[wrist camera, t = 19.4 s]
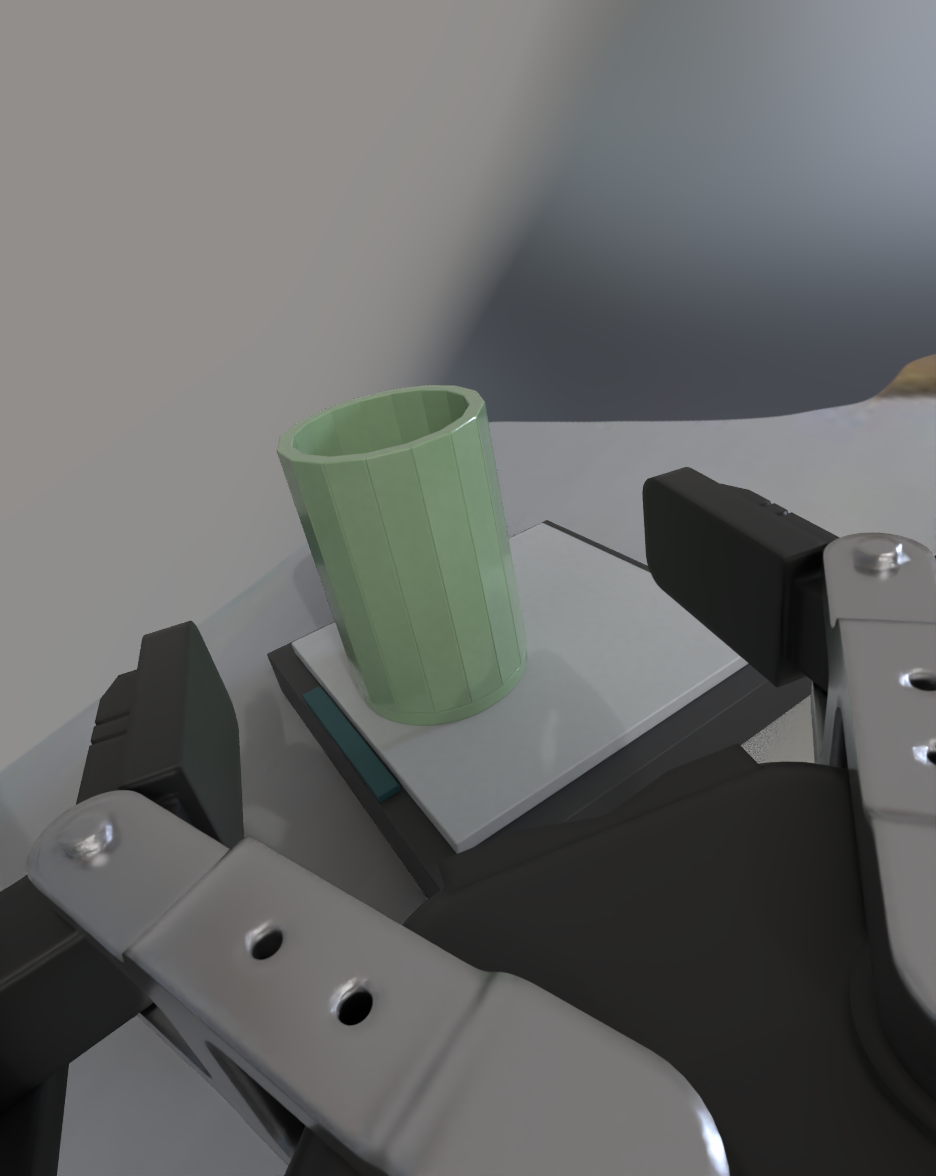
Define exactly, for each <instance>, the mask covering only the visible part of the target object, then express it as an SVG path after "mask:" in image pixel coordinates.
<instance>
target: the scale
mask: <svg viewBox="0 0 936 1176" xmlns="http://www.w3.org/2000/svg"><path fill="white" fill-rule="evenodd" d="M509 543H510V549H511V554H512V560H513V566H514V572H515V577H516V583H517V589H518V594H519V600H520V606H521V611H522V617H523V623H524V629H525V634H526V640H527V644H526V648H527V656H528V658H527V665H526V668H525V671H524V674H523V676H522V677H521V679H520V681H519V682H518V684H517V685H516V686H515V688H514V689H513V690H512V691H511V692H510V693H509V694H508V695H507V696H505V697H504V698H503V699H502V700H500V701H499V702H498V703H496V704H495V705H493V706H491V707H490V708H488V709H486V710H484V711H482V712H480V713H478V714H476V715H473V716H471V717H468V718H465V719H462V720H459V721H455V722H450V723H446V724H438V725H424V726H419V725H407V724H402V723H397V722H394V721H390V720H388V719H386V718H384V717H381V716H380V715H378V714H377V713H375V712H374V711H373V710H372V709H371V708H370V707H369V706H368V705H367V704H366V702H365V701H364V699H363V697H362V695H361V692H360V689H359V688H358V687H357V684H356V682H355V679H354V676H353V673H352V670H351V667H350V664H349V661H348V658H347V655H346V652H345V649H344V647H343V644H342V641H341V638H340V635H339V632H338V629H337V626H336V623H335V622H333V623H331V624H329V625H327V626H325V627H323V628H320V629H318V630H316V631H314V632H312V633H310V634H308V635H306V636H304V637H302V638H300V639H297V640H295V641H293V642H291V643H289V644H287V645H285V646H283V647H281V648H279V649H277V650H274V651H272V652H270V653H268V654H267V656H268V658H269V661H270V663H271V665H272V668H273V670H274V673H275V675H276V678H277V680H278V682H279V685H280V687H281V690H282V692H283V693H284V694H285V696H286V697H287V699H288V700H289V702H290V703H291V704H292V706H293V707H294V709H295V710H296V711H297V713H298V714H299V716H300V717H301V719H302V720H303V721H304V723H305V724H306V726H307V727H308V728H309V730H310V731H311V733H312V734H313V736H314V737H315V738H316V740H317V741H318V743H319V744H320V745H321V747H322V748H323V750H324V751H325V753H326V754H327V755H328V757H329V758H330V760H331V761H332V762H333V764H334V765H335V767H336V768H337V770H338V771H339V772H340V774H341V775H342V777H343V778H344V779H345V781H346V782H347V784H348V785H349V787H350V788H351V789H352V791H353V792H354V794H355V795H356V796H357V798H358V799H359V801H360V802H361V804H362V805H363V806H364V808H365V809H366V811H367V812H368V813H369V815H370V816H371V818H372V819H373V821H374V822H375V823H376V825H377V826H378V828H379V829H380V830H381V832H382V833H383V835H384V836H385V838H386V839H387V840H388V842H389V843H390V845H391V846H392V847H393V849H394V850H395V852H396V853H397V855H398V856H399V857H400V859H401V860H402V862H403V863H404V864H405V866H406V867H407V869H408V870H409V872H410V873H411V874H412V876H413V877H414V879H415V880H416V881H417V883H418V884H419V886H420V887H421V889H422V890H423V891H424V893H425V894H426V896H427V897H428V899H429V898H431V897H432V896H433V895H435V894H436V893H438V892H439V891H440V890H442V889H443V888H445V887H444V884H443V880H442V877H441V874H440V871H439V868H438V864H437V861H440V860H442V859H445V858H447V857H450V856H453V855H455V854H458V853H460V852H463V851H465V850H468V849H470V848H473V847H475V846H478V845H480V844H483V843H486V842H488V841H491V840H493V839H496V838H498V837H501V836H503V835H506V834H508V833H511V832H514V831H517V830H523V829H530V828H536V827H542V826H548V825H554V824H560V823H566V822H572V821H579V820H585V819H591V818H596V817H600V816H603V815H605V814H607V813H609V812H611V811H612V810H613V809H615V808H616V807H618V806H619V805H620V804H622V803H623V802H625V801H626V800H628V799H629V798H630V797H632V796H633V795H635V794H636V793H637V792H639V791H640V790H642V789H643V788H644V787H646V786H647V785H649V784H650V783H651V782H653V781H654V780H656V779H657V778H659V777H660V776H661V775H663V774H664V773H666V772H667V771H668V770H671V769H674V768H676V767H679V766H681V765H684V764H686V763H689V762H691V761H694V760H696V759H699V758H701V757H704V756H707V755H709V754H712V753H714V752H717V751H719V750H722V749H724V748H727V747H729V746H732V745H735V744H737V743H738V744H739V745H742V744H743V743H744V742H746V741H747V740H748V739H750V738H751V737H753V736H754V735H755V734H757V733H758V732H759V731H761V730H762V729H763V728H765V727H766V726H768V725H769V724H770V723H772V722H773V721H774V720H776V719H777V718H779V717H780V716H781V715H783V714H784V713H785V712H787V711H788V710H790V709H791V708H792V707H794V706H795V705H796V704H798V703H799V702H801V701H802V700H803V699H805V698H806V697H807V696H809V695H810V694H811V688H812V680H811V679H810V678H808V677H804V678H801V679H799V680H796V681H794V682H791V683H788V684H786V685H783V686H781V687H778V688H777V687H776V686H774V685H773V684H772V683H771V682H770V681H769V680H767V679H766V678H765V677H764V676H763V675H762V674H760V673H759V672H758V671H757V670H756V669H754V668H753V667H752V666H751V665H750V664H749V663H747V662H746V661H745V660H744V659H743V658H742V657H740V656H739V655H738V654H737V653H736V652H735V651H733V650H732V649H731V648H730V647H729V646H727V645H726V644H725V643H724V642H723V641H722V640H720V639H719V638H718V637H717V636H716V635H715V634H713V633H712V632H711V631H710V630H709V629H708V628H706V627H705V626H704V625H703V624H702V623H700V622H699V621H698V620H697V619H696V618H695V617H693V616H692V615H691V614H690V613H689V612H688V611H686V610H685V609H684V608H683V607H682V606H681V605H679V604H678V603H677V602H676V601H675V600H673V599H672V598H671V597H670V596H669V595H668V594H666V593H665V592H664V591H663V590H662V589H661V588H660V587H659V586H658V585H657V584H656V582H655V581H654V579H653V577H652V575H651V573H650V570H649V567H648V566H647V565H644V564H642V563H640V562H638V561H636V560H634V559H631V558H629V557H627V556H625V555H623V554H620V553H618V552H616V551H614V550H612V549H609V548H607V547H605V546H603V545H601V544H598V543H596V542H594V541H592V540H590V539H587V538H585V537H583V536H581V535H579V534H576V533H574V532H572V531H570V530H568V529H565V528H563V527H561V526H559V525H557V524H555V523H552V522H550V521H548V520H546V521H544V522H542V523H540V524H538V525H536V526H534V527H531V528H529V529H527V530H525V531H523V532H521V533H519V534H517V535H515V536H513V537H511V538H509Z"/></svg>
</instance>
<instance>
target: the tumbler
mask: <svg viewBox="0 0 936 1176" xmlns="http://www.w3.org/2000/svg"><path fill="white" fill-rule="evenodd" d="M277 453H278V456H279V459H280V462H281V465H282V468H283V471H284V474H285V477H286V480H287V483H288V485H289V489H290V492H291V494H292V497H293V500H294V503H295V506H296V509H297V512H298V515H299V518H300V520H301V524H302V526H303V529H304V532H305V535H306V538H307V541H308V544H309V547H310V550H311V553H312V556H313V559H314V562H315V565H316V568H317V570H318V573H319V576H320V579H321V582H322V585H323V588H324V591H325V594H326V597H327V600H328V603H329V606H330V609H331V611H332V614H333V617H334V620H335V623H336V626H337V629H338V632H339V635H340V638H341V641H342V644H343V647H344V649H345V652H346V655H347V658H348V661H349V664H350V667H351V670H352V673H353V676H354V679H355V682H356V684H357V687H358V688H359V689H360V692H361V695H362V697H363V699H364V701H365V702H366V704H367V705H368V706H369V707H370V708H371V709H372V710H373V711H374V712H375V713H377V714H378V715H380V716H381V717H384V718H386V719H388V720H390V721H394V722H397V723H402V724H407V725H419V726H424V725H438V724H446V723H450V722H455V721H459V720H462V719H465V718H468V717H471V716H473V715H476V714H478V713H480V712H482V711H484V710H486V709H488V708H490V707H491V706H493V705H495V704H496V703H498V702H499V701H500V700H502V699H503V698H504V697H505V696H507V695H508V694H509V693H510V692H511V691H512V690H513V689H514V688H515V686H516V685H517V684H518V682H519V681H520V679H521V677H522V676H523V674H524V671H525V668H526V665H527V658H528V656H527V648H526V644H527V640H526V634H525V629H524V623H523V617H522V611H521V606H520V600H519V594H518V589H517V583H516V577H515V572H514V566H513V560H512V554H511V549H510V543H509V537H508V532H507V526H506V520H505V515H504V509H503V503H502V497H501V492H500V486H499V480H498V475H497V469H496V463H495V458H494V452H493V446H492V440H491V435H490V429H489V423H488V418H487V412H486V406H485V402H484V401H483V399H482V398H481V396H480V395H479V394H478V392H476V391H474V390H470V389H466V388H462V387H459V386H438V385H427V386H425V385H424V386H417V387H408V388H400V389H393V390H388V391H384V392H380V393H376V394H371V395H367V396H363V397H358V398H357V399H352V400H349V401H346V402H344V403H341V404H338V405H335V406H332V407H329V408H326V409H324V410H321V411H319V412H318V413H316V414H314V415H312V416H310V417H308V418H306V419H304V420H302V421H300V422H298V423H297V424H295V425H294V426H292V427H291V428H290V429H289V430H288V431H287V432H286V433H284V434H283V435H282V436H281V437H280V438H279V443H278V448H277Z"/></svg>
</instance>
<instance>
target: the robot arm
mask: <svg viewBox="0 0 936 1176" xmlns="http://www.w3.org/2000/svg"><path fill="white" fill-rule="evenodd" d="M643 511H644V528H645V545H646V558H647V564H648V567H649V570H650V573H651V575H652V577H653V579H654V581H655V582H656V584H657V585H658V586H659V587H660V588H661V589H662V590H663V591H664V592H665V593H666V594H668V595H669V596H670V597H671V598H672V599H673V600H675V601H676V602H677V603H678V604H679V605H681V606H682V607H683V608H684V609H685V610H686V611H688V612H689V613H690V614H691V615H692V616H693V617H695V618H696V619H697V620H698V621H699V622H700V623H702V624H703V625H704V626H705V627H706V628H708V629H709V630H710V631H711V632H712V633H713V634H715V635H716V636H717V637H718V638H719V639H720V640H722V641H723V642H724V643H725V644H726V645H727V646H729V647H730V648H731V649H732V650H733V651H735V652H736V653H737V654H738V655H739V656H740V657H742V658H743V659H744V660H745V661H746V662H747V663H749V664H750V665H751V666H752V667H753V668H754V669H756V670H757V671H758V672H759V673H760V674H762V675H763V676H764V677H765V678H766V679H767V680H769V681H770V682H771V683H772V684H773V685H774V686H776V687H777V688H778V687H781V686H783V685H786V684H788V683H791V682H794V681H796V680H799V679H801V678H804V677H808V678H810V679H811V680H812V688H811V713H812V728H813V743H814V757H815V763H807V762H770V763H761V764H758V763H757V762H756V761H755V760H754V759H753V758H752V757H751V756H750V755H749V754H748V753H747V752H746V751H745V750H744V749H743V748H742V747H741V746H740V745H739V744H738V743H737V744H735V745H732V746H729V747H727V748H724V749H722V750H719V751H717V752H714V753H712V754H709V755H707V756H704V757H701V758H699V759H696V760H694V761H691V762H689V763H686V764H684V765H681V766H679V767H676V768H674V769H671V770H668V771H667V772H666V773H664V774H663V775H661V776H660V777H659V778H657V779H656V780H654V781H653V782H651V783H650V784H649V785H647V786H646V787H644V788H643V789H642V790H640V791H639V792H637V793H636V794H635V795H633V796H632V797H630V798H629V799H628V800H626V801H625V802H623V803H622V804H620V805H619V806H618V807H616V808H615V809H613V810H612V811H611V812H609V813H607V814H605V815H603V816H600V817H596V818H591V819H585V820H579V821H572V822H566V823H560V824H554V825H548V826H542V827H536V828H530V829H523V830H517V831H514V832H511V833H508V834H506V835H503V836H501V837H498V838H496V839H493V840H491V841H488V842H486V843H483V844H480V845H478V846H475V847H473V848H470V849H468V850H465V851H463V852H460V853H458V854H455V855H453V856H450V857H447V858H445V859H442V860H440V861H437V864H438V868H439V871H440V874H441V877H442V880H443V884H444V887H445V888H443V889H442V890H440V891H439V892H438V893H436V894H435V895H433V896H432V897H431V898H429V899H428V900H427V901H426V902H425V903H424V904H423V905H421V906H420V907H419V908H418V909H417V910H416V911H415V912H414V913H413V914H412V915H411V916H410V917H409V918H408V919H407V920H406V921H405V922H404V924H403V925H400V924H399V923H397V922H395V921H394V920H392V919H390V918H388V917H387V916H385V915H383V914H382V913H380V912H378V911H377V910H375V909H373V908H371V907H370V906H368V905H366V904H365V903H363V902H361V901H359V900H358V899H356V898H354V897H353V896H351V895H349V894H348V893H346V892H344V891H342V890H341V889H339V888H337V887H336V886H334V885H332V884H330V883H329V882H327V881H325V880H324V879H322V878H320V877H318V876H317V875H315V874H313V873H312V872H310V871H308V870H307V869H305V868H303V867H301V866H300V865H298V864H296V863H295V862H293V861H291V860H289V859H288V858H286V857H284V856H283V855H281V854H279V853H278V852H276V851H274V850H272V849H271V848H269V847H267V846H266V845H264V844H262V843H260V842H259V841H257V840H255V839H252V838H249V837H244V830H243V809H242V788H241V767H240V746H239V729H238V723H237V719H236V715H235V711H234V708H233V705H232V702H231V699H230V697H229V694H228V692H227V690H226V688H225V686H224V684H223V681H222V679H221V677H220V675H219V673H218V671H217V668H216V666H215V664H214V662H213V660H212V658H211V655H210V653H209V651H208V649H207V647H206V645H205V643H204V640H203V638H202V636H201V634H200V632H199V630H198V628H197V627H196V625H195V624H194V623H193V622H192V621H188V622H185V623H181V624H178V625H175V626H172V627H169V628H165V629H162V630H159V631H156V632H153V633H150V634H146V635H144V636H143V638H142V644H141V649H140V656H139V662H138V668H137V670H134V671H131V672H127V673H125V674H121V675H118V677H117V678H116V679H115V681H114V682H113V684H112V685H111V686H110V687H109V689H108V690H107V691H106V693H105V694H104V695H103V696H102V698H101V699H100V703H99V707H98V711H97V716H96V720H95V723H96V726H94V729H93V733H92V737H91V743H92V745H91V746H89V750H88V755H87V759H86V763H85V768H84V772H83V776H82V781H81V785H80V789H79V794H78V798H77V802H76V806H74V807H72V808H71V809H69V810H68V811H66V812H65V813H63V814H62V815H61V816H60V817H58V818H57V819H56V820H55V821H54V822H52V823H51V824H50V825H49V826H48V827H47V828H46V829H45V831H44V832H43V833H42V834H41V835H40V837H39V838H38V839H37V841H36V842H35V844H34V846H33V847H32V849H31V851H30V854H29V856H28V860H27V864H26V870H27V875H26V876H25V877H23V878H22V879H21V880H19V881H17V882H16V883H14V884H13V885H11V886H10V887H8V888H6V889H5V890H3V891H1V892H0V1176H57V1169H58V1160H59V1150H60V1141H61V1132H62V1123H63V1114H64V1105H65V1096H66V1087H67V1077H68V1068H69V1063H70V1062H72V1061H73V1060H75V1059H76V1058H77V1057H79V1056H80V1055H81V1054H83V1053H84V1052H86V1051H87V1050H88V1049H90V1048H91V1047H93V1046H94V1045H95V1044H97V1043H98V1042H100V1041H101V1040H102V1039H104V1038H105V1037H106V1036H108V1035H109V1034H111V1033H112V1032H113V1031H115V1030H116V1029H118V1028H119V1027H120V1026H122V1025H123V1024H125V1023H126V1022H127V1021H129V1020H130V1019H131V1018H133V1017H134V1016H136V1015H137V1016H138V1017H139V1018H140V1019H141V1020H142V1021H143V1022H144V1023H145V1024H146V1025H147V1026H149V1027H150V1028H151V1029H152V1030H153V1031H154V1032H155V1033H156V1034H157V1035H158V1036H159V1037H160V1038H161V1039H162V1040H163V1041H164V1042H165V1043H166V1044H168V1045H169V1046H170V1047H171V1048H172V1049H173V1050H174V1051H175V1052H176V1053H177V1054H178V1055H179V1056H180V1057H181V1058H182V1059H183V1060H184V1061H185V1062H187V1063H188V1064H189V1065H190V1066H191V1067H192V1068H193V1069H194V1070H195V1071H196V1072H197V1073H198V1074H199V1075H200V1076H201V1077H202V1078H203V1079H205V1080H206V1081H207V1082H208V1083H209V1084H210V1085H211V1086H212V1087H213V1088H214V1089H215V1090H216V1091H217V1092H218V1093H219V1094H220V1095H221V1096H222V1097H223V1098H224V1099H225V1100H226V1101H227V1102H228V1103H229V1104H230V1105H231V1106H232V1107H233V1108H234V1109H235V1110H236V1111H237V1112H238V1113H239V1115H240V1116H241V1117H242V1118H243V1119H244V1120H245V1121H246V1123H247V1124H248V1125H249V1126H250V1127H251V1128H252V1129H253V1130H254V1131H255V1133H256V1134H257V1135H258V1136H259V1137H260V1138H261V1139H262V1140H263V1141H264V1142H265V1143H266V1144H267V1145H268V1146H269V1147H270V1148H271V1149H272V1150H273V1151H274V1152H275V1153H276V1154H277V1155H278V1156H279V1157H280V1158H281V1159H282V1160H283V1161H284V1162H285V1163H286V1164H287V1165H288V1168H287V1170H286V1173H285V1175H284V1176H936V556H934V555H933V553H932V552H931V551H930V550H929V549H928V548H927V547H926V546H924V545H923V544H921V543H919V542H917V541H914V540H912V539H909V538H906V537H902V536H898V535H893V534H885V533H859V534H852V535H848V536H844V537H841V538H839V537H837V536H836V535H834V534H832V533H830V532H828V531H826V530H824V529H822V528H820V527H818V526H817V525H815V524H813V523H811V522H809V521H807V520H805V519H803V518H801V517H799V516H798V515H796V514H794V513H788V511H787V510H786V509H784V508H782V507H780V506H779V505H777V504H775V503H774V504H771V503H770V501H769V500H767V499H765V498H763V497H762V496H760V495H758V494H756V493H754V492H752V491H750V490H747V489H742V488H738V487H733V486H729V485H725V484H719V483H717V482H716V481H714V480H712V479H710V478H708V477H706V476H705V475H703V474H701V473H699V472H697V471H695V470H694V469H692V468H689V467H684V468H681V469H678V470H675V471H671V472H668V473H665V474H662V475H659V476H655V477H652V478H649V479H647V480H646V481H645V483H644V486H643Z"/></svg>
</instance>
